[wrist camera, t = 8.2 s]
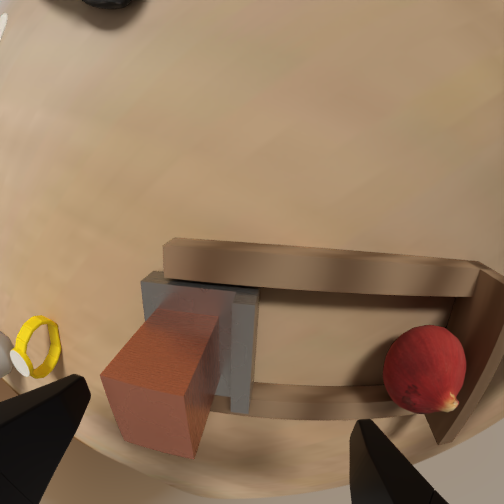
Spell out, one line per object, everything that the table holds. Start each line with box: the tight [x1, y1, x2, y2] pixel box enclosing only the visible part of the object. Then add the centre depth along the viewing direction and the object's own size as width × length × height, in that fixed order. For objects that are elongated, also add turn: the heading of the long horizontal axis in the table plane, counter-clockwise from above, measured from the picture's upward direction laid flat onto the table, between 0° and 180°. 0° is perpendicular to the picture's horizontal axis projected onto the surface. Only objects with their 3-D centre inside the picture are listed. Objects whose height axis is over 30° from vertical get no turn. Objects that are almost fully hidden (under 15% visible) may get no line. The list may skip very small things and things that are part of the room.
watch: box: [10, 315, 61, 379], centre depth 20 cm, size 6×3×6 cm, turn 168°
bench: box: [163, 238, 504, 445], centre depth 16 cm, size 22×13×6 cm, turn 87°
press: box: [100, 271, 260, 459], centre depth 15 cm, size 7×8×9 cm
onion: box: [383, 325, 466, 414], centre depth 15 cm, size 6×6×8 cm
